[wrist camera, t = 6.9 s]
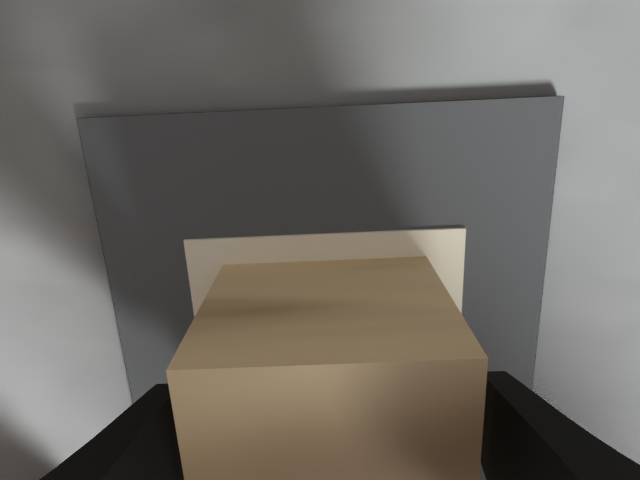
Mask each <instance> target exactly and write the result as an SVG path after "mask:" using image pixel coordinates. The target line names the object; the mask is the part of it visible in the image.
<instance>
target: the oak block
mask: <svg viewBox="0 0 640 480" xmlns="http://www.w3.org/2000/svg"><path fill="white" fill-rule="evenodd" d="M487 370H488V357H487V355H486V354H485V352H484V350H483V349H482V347H481V345H480V344H479V342H478V340H477V339H476V337H475V335H474V334H473V332H472V331H471V329H470V327H469V326H468V324H467V322H466V321H465V319H464V317H463V316H462V314H461V312H460V311H459V309H458V307H457V306H456V304H455V302H454V301H453V299H452V298H451V296H450V294H449V293H448V291H447V289H446V288H445V286H444V284H443V283H442V281H441V279H440V278H439V276H438V274H437V273H436V271H435V270H434V268H433V266H432V265H431V263H430V261H429V260H428V258H427V256H421V257H397V258H373V259H349V260H324V261H300V262H276V263H252V264H227V265H222V267H221V269H220V271H219V273H218V275H217V277H216V278H215V280H214V282H213V284H212V286H211V288H210V290H209V291H208V293H207V295H206V297H205V299H204V301H203V303H202V304H201V306H200V308H199V310H198V312H197V314H196V315H195V317H194V319H193V321H192V323H191V325H190V327H189V328H188V330H187V332H186V334H185V336H184V338H183V340H182V341H181V343H180V345H179V347H178V349H177V351H176V353H175V354H174V356H173V358H172V360H171V362H170V364H169V366H168V367H167V369H166V374H167V380H168V386H169V392H170V398H171V404H172V410H173V416H174V422H175V428H176V433H177V439H178V445H179V451H180V457H181V463H182V469H183V475H184V480H479V476H480V463H481V449H482V436H483V423H484V410H485V396H486V383H487Z"/></svg>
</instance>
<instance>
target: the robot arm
mask: <svg viewBox="0 0 640 480" xmlns="http://www.w3.org/2000/svg"><path fill="white" fill-rule="evenodd" d="M481 465H482V468H483V471H484V474H485V478H486V480H640V465H639V464H637V463H635V462H634V461H632V460H631V459H629V458H627V457H626V456H624V455H622V454H621V453H619V452H618V451H616V450H615V449H613V448H612V447H610V446H609V445H607V444H606V443H604V442H602V441H601V440H599V439H598V438H596V437H595V436H593V435H592V434H590V433H589V432H588V431H586V430H585V429H583V428H582V427H580V426H579V425H577V424H576V423H575V422H573V421H572V420H570V419H569V418H568V417H566V416H565V415H564V414H562V413H561V412H559V411H558V410H557V409H555V408H554V407H553V406H551V405H550V404H549V403H547V402H546V401H545V400H543V399H542V398H541V397H539V396H538V395H537V394H536V393H534V392H533V391H532V390H530V389H529V388H528V387H526V386H525V385H524V384H522V383H521V382H520V381H518V380H517V379H516V378H514V377H513V376H512V375H510V374H509V373H507V372H506V371H487V383H486V396H485V410H484V423H483V436H482V449H481ZM40 480H184V475H183V469H182V463H181V457H180V451H179V445H178V439H177V433H176V428H175V422H174V416H173V410H172V404H171V398H170V392H169V386H168V383H166V384H156V385H155V386H153V387H152V388H151V389H150V390H148V391H147V392H146V393H145V394H144V395H143V396H141V397H140V398H139V399H138V400H137V401H136V402H135V403H133V404H132V405H131V406H130V407H129V408H128V409H127V410H125V411H124V412H123V413H122V414H121V415H120V416H119V417H117V418H116V419H115V420H114V421H113V422H111V423H110V424H109V425H108V426H107V427H106V428H104V429H103V430H102V431H101V432H100V433H99V434H97V435H96V436H95V437H94V438H93V439H91V440H90V441H89V442H88V443H86V444H85V445H84V446H83V447H81V448H80V449H79V450H78V451H76V452H75V453H74V454H72V455H71V456H70V457H69V458H67V459H66V460H65V461H64V462H62V463H61V464H60V465H59V466H57V467H56V468H55V469H53V470H52V471H51V472H49V473H48V474H47V475H45V476H44V477H42V478H41V479H40Z"/></svg>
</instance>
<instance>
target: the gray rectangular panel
mask: <svg viewBox="0 0 640 480" xmlns="http://www.w3.org/2000/svg"><path fill="white" fill-rule="evenodd" d="M563 104H564V96H542V97H521V98H499V99H478V100H456V101H435V102H413V103H392V104H370V105H349V106H327V107H306V108H284V109H263V110H241V111H220V112H198V113H177V114H155V115H134V116H112V117H91V118H78V119H77V123H78V128H79V133H80V138H81V143H82V148H83V153H84V159H85V164H86V169H87V174H88V179H89V184H90V189H91V194H92V199H93V204H94V209H95V214H96V219H97V224H98V229H99V234H100V239H101V244H102V249H103V254H104V259H105V264H106V269H107V274H108V279H109V284H110V289H111V294H112V299H113V304H114V309H115V314H116V319H117V324H118V329H119V334H120V339H121V344H122V349H123V354H124V360H125V365H126V370H127V375H128V380H129V385H130V390H131V395H132V400H133V403H135V402H136V401H137V400H138V399H139V398H140V397H141V396H143V395H144V394H145V393H146V392H147V391H148V390H150V389H151V388H152V387H153V386H155V385H156V384H166V383H168V380H167V374H166V369H167V367H168V366H169V364H170V362H171V360H172V358H173V356H174V354H175V353H176V351H177V349H178V347H179V345H180V343H181V341H182V340H183V338H184V336H185V334H186V332H187V330H188V328H189V327H190V325H191V323H192V321H193V319H194V317H195V315H196V314H197V312H198V310H199V308H200V306H201V304H202V303H203V301H204V299H205V297H206V295H207V293H208V291H209V290H210V288H211V286H212V284H213V282H214V280H215V278H216V277H217V275H218V273H219V271H220V269H221V267H222V265H227V264H252V263H276V262H300V261H324V260H349V259H373V258H397V257H421V256H427V258H428V260H429V261H430V263H431V265H432V266H433V268H434V270H435V271H436V273H437V274H438V276H439V278H440V279H441V281H442V283H443V284H444V286H445V288H446V289H447V291H448V293H449V294H450V296H451V298H452V299H453V301H454V302H455V304H456V306H457V307H458V309H459V311H460V312H461V314H462V316H463V317H464V319H465V321H466V322H467V324H468V326H469V327H470V329H471V331H472V332H473V334H474V335H475V337H476V339H477V340H478V342H479V344H480V345H481V347H482V349H483V350H484V352H485V354H486V355H487V357H488V370H487V371H506V372H507V373H509V374H510V375H512V376H513V377H514V378H516V379H517V380H518V381H520V382H521V383H522V384H524V385H525V386H526V387H528V388H529V389H530V390H532V384H533V375H534V366H535V357H536V348H537V339H538V330H539V321H540V312H541V303H542V294H543V284H544V275H545V266H546V257H547V248H548V239H549V230H550V221H551V212H552V203H553V194H554V185H555V176H556V167H557V158H558V149H559V140H560V131H561V122H562V113H563ZM479 480H486V478H485V474H484V471H483V468H482V465H481V463H480V476H479Z"/></svg>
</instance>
